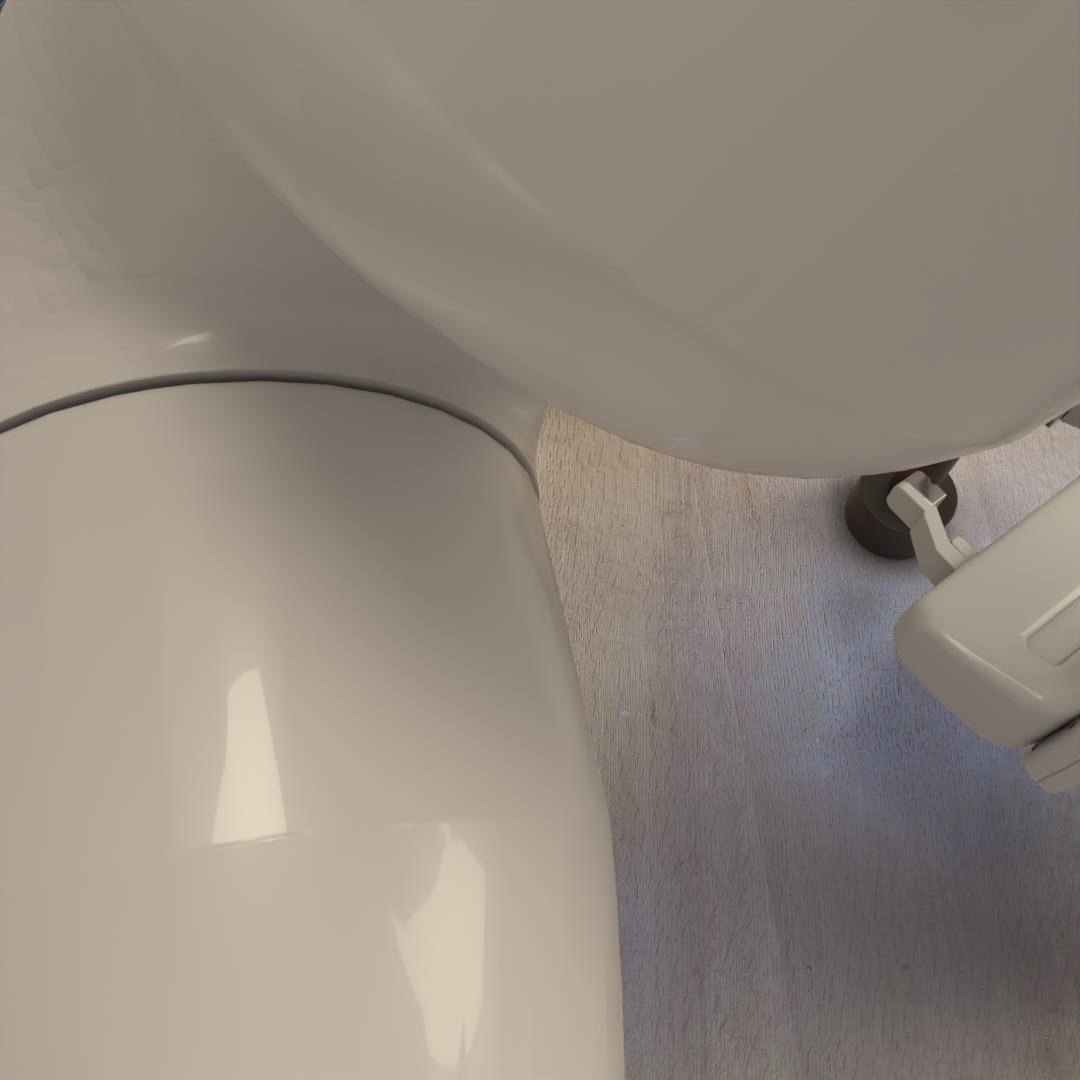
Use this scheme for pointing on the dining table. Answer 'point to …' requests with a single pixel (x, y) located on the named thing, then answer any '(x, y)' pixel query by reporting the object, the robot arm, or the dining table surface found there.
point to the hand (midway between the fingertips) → (971, 433)
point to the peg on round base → (877, 519)
